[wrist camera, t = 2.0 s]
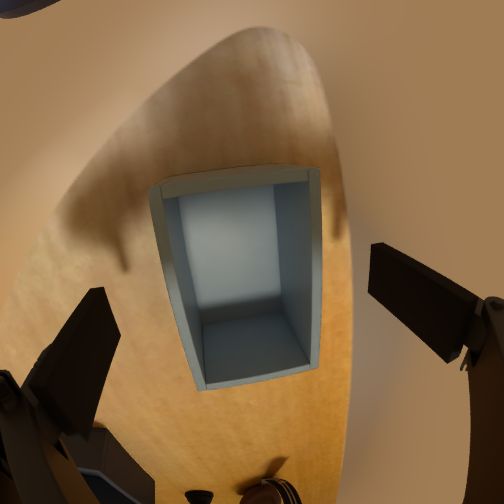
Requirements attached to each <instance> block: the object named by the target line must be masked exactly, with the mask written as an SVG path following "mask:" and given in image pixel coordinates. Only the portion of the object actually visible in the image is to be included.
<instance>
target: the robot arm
mask: <svg viewBox="0 0 504 504" xmlns="http://www.w3.org/2000/svg"><path fill="white" fill-rule="evenodd" d="M368 293H369V294H370V295H371V296H372V297H374V298H375V299H376V300H377V301H378V302H379V303H381V304H382V305H383V306H384V307H385V308H386V309H387V310H389V311H390V312H391V313H392V314H393V315H394V316H395V317H397V318H398V319H399V320H400V321H401V322H402V323H403V324H405V325H406V326H407V327H408V328H409V329H410V330H411V331H412V332H413V333H415V334H416V335H417V336H418V337H419V338H420V339H421V340H422V341H423V342H425V343H426V344H427V345H428V346H429V347H430V348H431V349H432V350H433V351H434V352H435V353H436V354H437V355H438V356H439V357H441V358H442V359H443V360H444V361H445V362H446V363H447V364H448V363H450V362H451V361H453V360H454V359H456V358H458V357H459V355H460V353H461V350H462V348H463V345H465V346H466V347H468V350H467V353H466V355H465V357H464V360H463V362H462V364H461V367H460V371H462V370H463V367H464V365H466V364H467V367H466V370H465V371H468V380H469V392H470V411H471V412H470V416H471V433H470V456H469V467H468V476H467V484H466V490H465V497H464V500H463V503H462V504H504V299H501V298H499V297H487V298H486V299H485V300H482V299H481V298H479V297H478V296H476V295H475V294H473V293H471V292H470V291H468V290H467V289H465V288H463V287H462V286H460V285H458V284H457V283H455V282H453V281H452V280H450V279H448V278H447V277H445V276H443V275H441V274H440V273H438V272H436V271H434V270H433V269H431V268H429V267H427V266H426V265H424V264H422V263H420V262H418V261H416V260H415V259H413V258H411V257H409V256H407V255H406V254H404V253H402V252H400V251H398V250H396V249H394V248H393V247H390V246H389V245H387V244H384V243H383V242H382V243H376V244H371V254H370V272H369V283H368ZM120 337H121V334H120V331H119V329H118V326H117V324H116V321H115V318H114V315H113V313H112V310H111V307H110V304H109V301H108V298H107V295H106V292H105V289H104V287H97V288H90V289H89V291H88V292H87V293H86V295H85V296H84V297H83V299H82V300H81V302H80V303H79V304H78V306H77V307H76V309H75V310H74V311H73V313H72V314H71V316H70V317H69V319H68V320H67V321H66V323H65V324H64V326H63V327H62V329H61V330H60V332H59V333H58V335H57V336H56V338H55V340H54V341H53V343H52V344H50V345H49V346H48V347H47V348H45V349H44V350H43V351H42V353H41V354H40V356H39V358H38V359H37V360H38V361H36V362H35V364H34V366H33V368H32V369H31V371H30V372H29V374H28V376H27V378H26V379H25V381H24V383H23V385H22V386H21V388H20V387H19V386H18V384H17V383H16V381H15V380H14V378H13V377H12V375H11V373H10V372H9V371H7V370H0V504H100V503H99V501H98V500H97V498H96V497H95V495H94V494H93V492H92V491H91V489H90V488H89V486H88V485H87V483H86V481H85V480H84V478H83V477H82V475H81V473H80V472H79V470H78V468H77V466H76V465H75V463H74V461H73V459H72V457H71V455H70V454H69V452H68V450H67V448H66V446H65V444H64V443H63V441H62V440H61V439H60V435H61V432H62V431H63V432H64V434H65V435H66V436H67V437H68V438H69V439H70V440H71V441H77V442H85V443H88V441H89V437H90V433H91V429H92V425H93V421H94V418H95V414H96V410H97V407H98V403H99V400H100V397H101V393H102V390H103V387H104V384H105V380H106V377H107V374H108V371H109V368H110V365H111V362H112V359H113V356H114V354H115V351H116V348H117V345H118V342H119V340H120Z"/></svg>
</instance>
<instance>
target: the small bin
mask: <svg viewBox="0 0 504 504" xmlns="http://www.w3.org/2000/svg"><path fill="white" fill-rule="evenodd" d="M147 191H148V197H149V203H150V209H151V215H152V220H153V226H154V231H155V236H156V241H157V246H158V251H159V255H160V260H161V264H162V269H163V273H164V277H165V281H166V286H167V290H168V294H169V298H170V301H171V305H172V309H173V313H174V316H175V320H176V324H177V327H178V331H179V334H180V337H181V341H182V344H183V347H184V351H185V354H186V357H187V360H188V363H189V366H190V369H191V372H192V375H193V378H194V381H195V384H196V387H197V390H198V391H206V390H213V389H220V388H227V387H233V386H239V385H245V384H250V383H255V382H260V381H265V380H270V379H275V378H279V377H284V376H288V375H292V374H296V373H300V372H304V371H308V370H312V369H316V368H318V365H319V351H320V333H321V309H322V212H321V188H320V170H319V168H318V167H309V166H299V165H289V164H278V163H276V164H264V165H254V166H244V167H235V168H227V169H219V170H211V171H204V172H197V173H191V174H184V175H178V176H172V177H167V178H166V179H164V180H162V181H160V182H158V183H157V184H155V185H153V186H151V187H150V188H148V189H147Z"/></svg>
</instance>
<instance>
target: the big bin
mask: <svg viewBox="0 0 504 504" xmlns="http://www.w3.org/2000/svg"><path fill="white" fill-rule="evenodd" d="M60 439H61V440H62V441H63V443H64V444H65V446H66V448H67V450H68V452H69V454H70V455H71V457H72V459H73V461H74V463H75V465H76V466H77V468H78V470H79V472H80V473H81V475H82V477H83V478H84V480H85V481H86V483H87V485H88V486H89V488H90V489H91V491H92V492H93V494H94V495H95V497H96V498H97V500H98V501H99V503H100V504H155V481H154V480H153V479H152V478H151V477H150V476H149V475H148V474H147V473H146V472H145V471H144V470H143V469H142V468H141V467H140V466H139V465H138V464H137V463H136V462H135V461H134V460H133V459H132V458H131V457H130V455H129V454H128V453H127V452H126V451H125V450H124V449H123V448H122V446H121V445H120V444H119V443H118V442H117V441H116V439H115V438H114V437H113V436H112V434H111V433H110V432H109V431H108V430H107V429H105V428H92V429H91V433H90V437H89V441H88V443H85V442H77V441H71V440H70V439H69V438H68V437H67V436H66V435H65V434H64V432H63V431H62V432H61V435H60Z"/></svg>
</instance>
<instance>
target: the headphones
mask: <svg viewBox="0 0 504 504" xmlns="http://www.w3.org/2000/svg"><path fill="white" fill-rule="evenodd" d="M261 482H262V484H261V485H258V486H256V487H254V488H252V489H251V490H249V491H248V492H247V493H246V494H245V495H244V496H243V497H242V499H241V501H240V504H281V497H282V499H283V502H284V504H302V503H301V500H300V497H299V495H298V493H297V491H296V490H295V488H294V487H293V486H292V485H291V484H290V483H289V482H287V481H286V480H283V479H277V478H270V479H262V480H261ZM263 483H265V484H263ZM266 483H267V484H266ZM268 483H271V484H272V485H274V486H275V487H276V488H275V487H274V486H272V485H270V484H268ZM276 489H277V490H278V491H279V493H280V495H281V497H280V495H279V493H278V491H277V490H276Z"/></svg>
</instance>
